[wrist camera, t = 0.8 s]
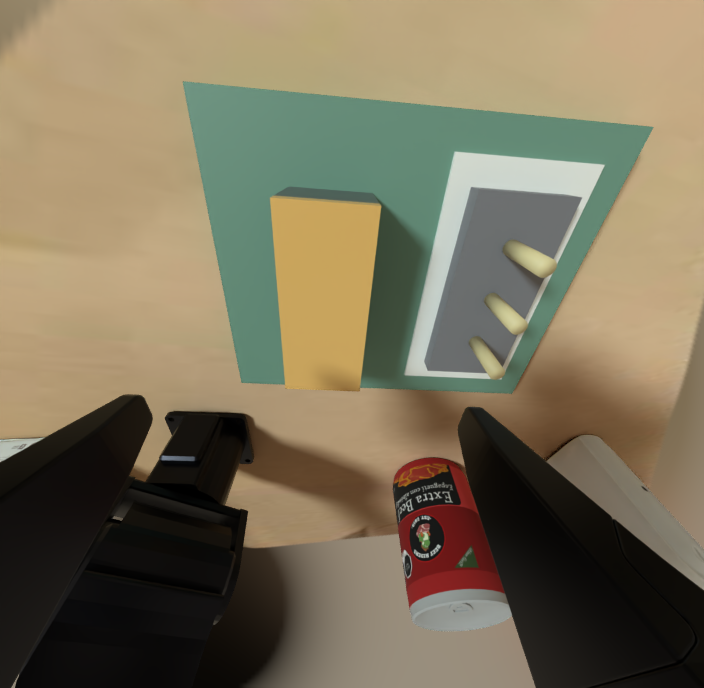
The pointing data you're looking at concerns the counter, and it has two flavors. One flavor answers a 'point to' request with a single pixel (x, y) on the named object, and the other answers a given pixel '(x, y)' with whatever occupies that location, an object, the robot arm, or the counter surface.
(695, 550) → the photo printer
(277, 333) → the board
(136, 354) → the counter surface
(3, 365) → the counter surface
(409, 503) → the canned food
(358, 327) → the yellow and grey block
